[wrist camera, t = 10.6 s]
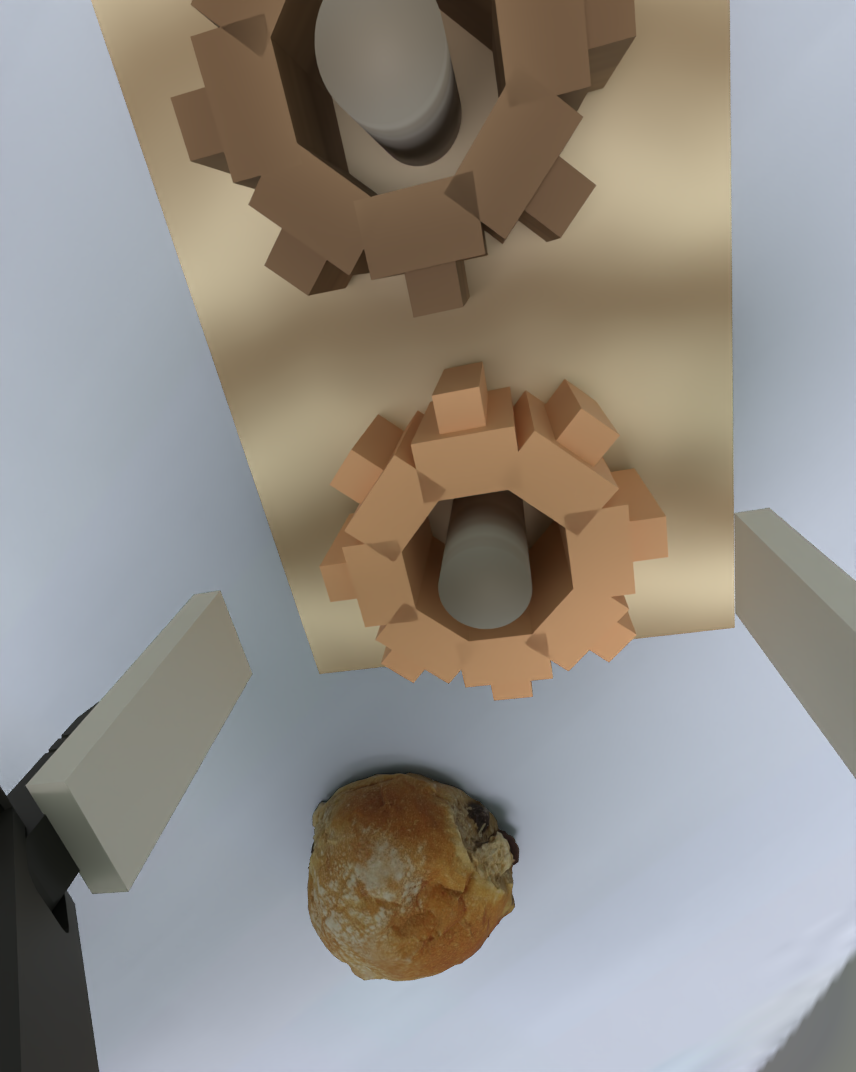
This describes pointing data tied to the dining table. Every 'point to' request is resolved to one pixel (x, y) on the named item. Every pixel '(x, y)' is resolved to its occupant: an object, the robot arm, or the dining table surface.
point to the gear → (555, 559)
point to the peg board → (512, 322)
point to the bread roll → (407, 876)
